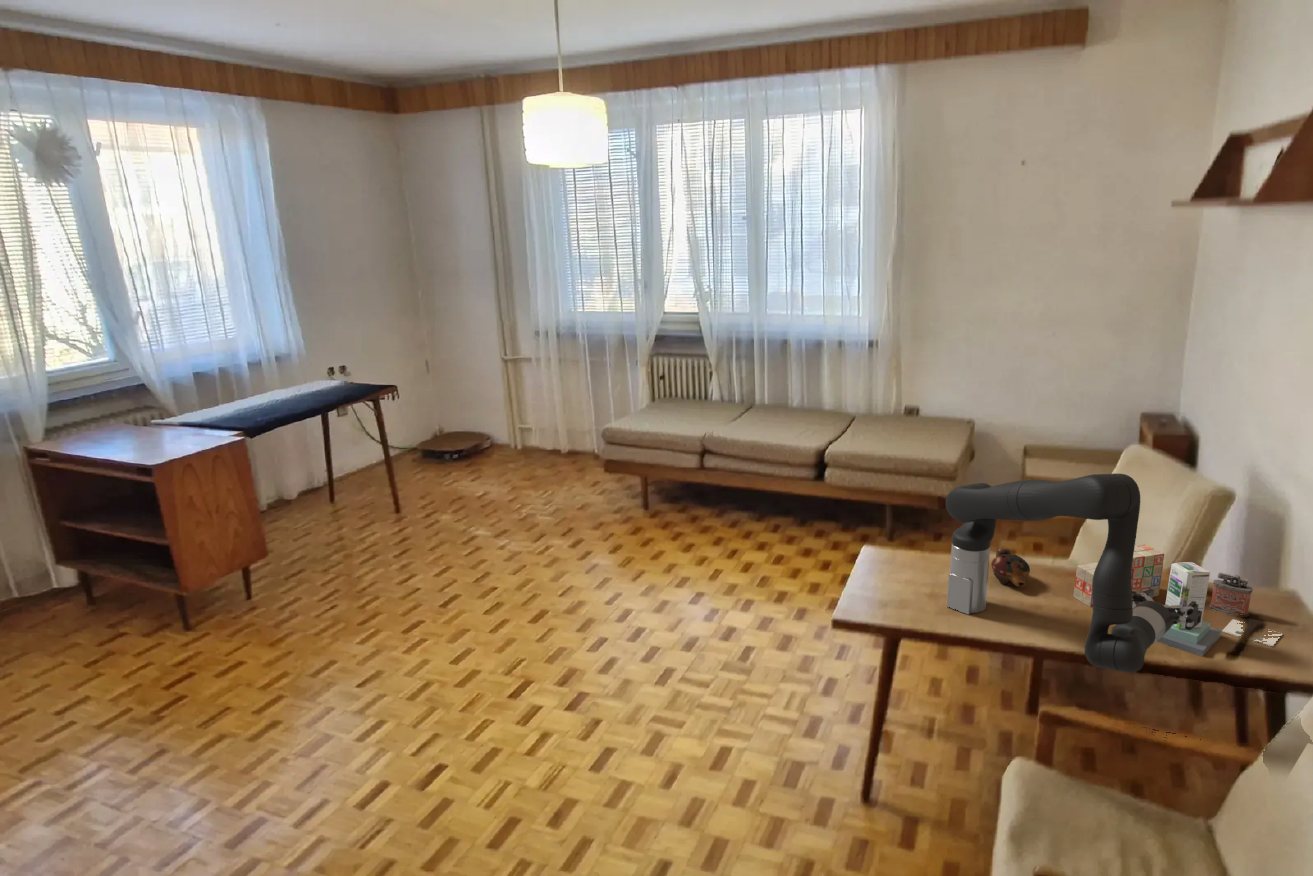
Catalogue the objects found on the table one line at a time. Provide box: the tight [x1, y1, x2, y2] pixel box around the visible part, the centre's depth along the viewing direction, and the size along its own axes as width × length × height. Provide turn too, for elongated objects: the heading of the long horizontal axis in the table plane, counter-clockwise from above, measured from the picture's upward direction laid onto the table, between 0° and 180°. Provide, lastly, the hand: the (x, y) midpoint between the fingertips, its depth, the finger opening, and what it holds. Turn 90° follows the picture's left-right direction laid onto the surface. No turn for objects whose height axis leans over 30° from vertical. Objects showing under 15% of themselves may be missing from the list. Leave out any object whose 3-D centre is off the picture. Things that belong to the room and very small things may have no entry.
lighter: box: [1209, 572, 1254, 615], centre depth 201 cm, size 8×3×10 cm, turn 47°
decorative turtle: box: [991, 546, 1031, 588], centre depth 223 cm, size 10×15×8 cm, turn 5°
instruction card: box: [1222, 618, 1283, 647], centre depth 193 cm, size 8×10×1 cm
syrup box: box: [1164, 561, 1211, 629], centre depth 190 cm, size 6×6×14 cm
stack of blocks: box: [1073, 544, 1165, 608], centre depth 211 cm, size 21×6×12 cm, turn 104°
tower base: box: [1156, 619, 1223, 657], centre depth 192 cm, size 13×13×4 cm
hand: (1172, 599), depth 183 cm, fingers open, 8 cm apart
